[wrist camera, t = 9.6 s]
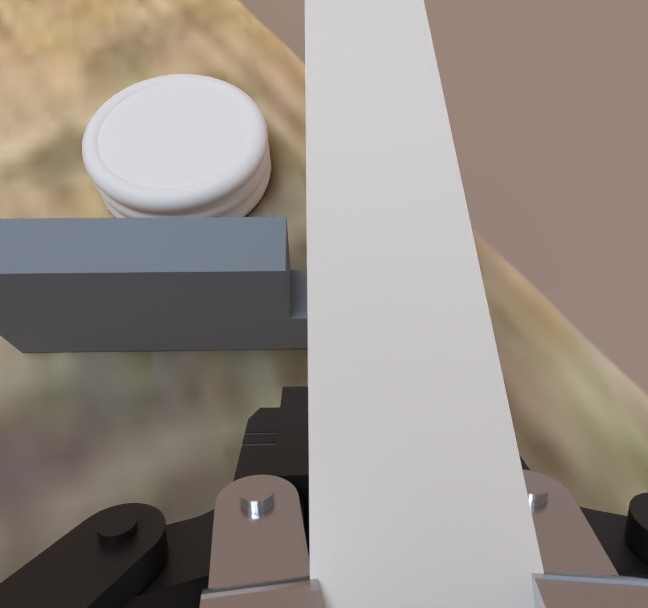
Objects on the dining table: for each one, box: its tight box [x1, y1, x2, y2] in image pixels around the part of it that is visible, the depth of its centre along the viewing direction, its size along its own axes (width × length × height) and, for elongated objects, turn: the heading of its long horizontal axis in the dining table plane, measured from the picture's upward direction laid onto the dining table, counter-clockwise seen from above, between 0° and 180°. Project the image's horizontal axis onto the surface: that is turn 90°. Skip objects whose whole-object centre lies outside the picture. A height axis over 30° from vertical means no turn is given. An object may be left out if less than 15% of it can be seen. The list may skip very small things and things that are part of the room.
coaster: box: [82, 74, 271, 218], centre depth 29 cm, size 10×10×4 cm
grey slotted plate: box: [0, 217, 308, 353], centre depth 22 cm, size 20×2×7 cm, turn 91°
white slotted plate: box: [305, 0, 544, 608], centre depth 13 cm, size 16×2×10 cm, turn 1°
